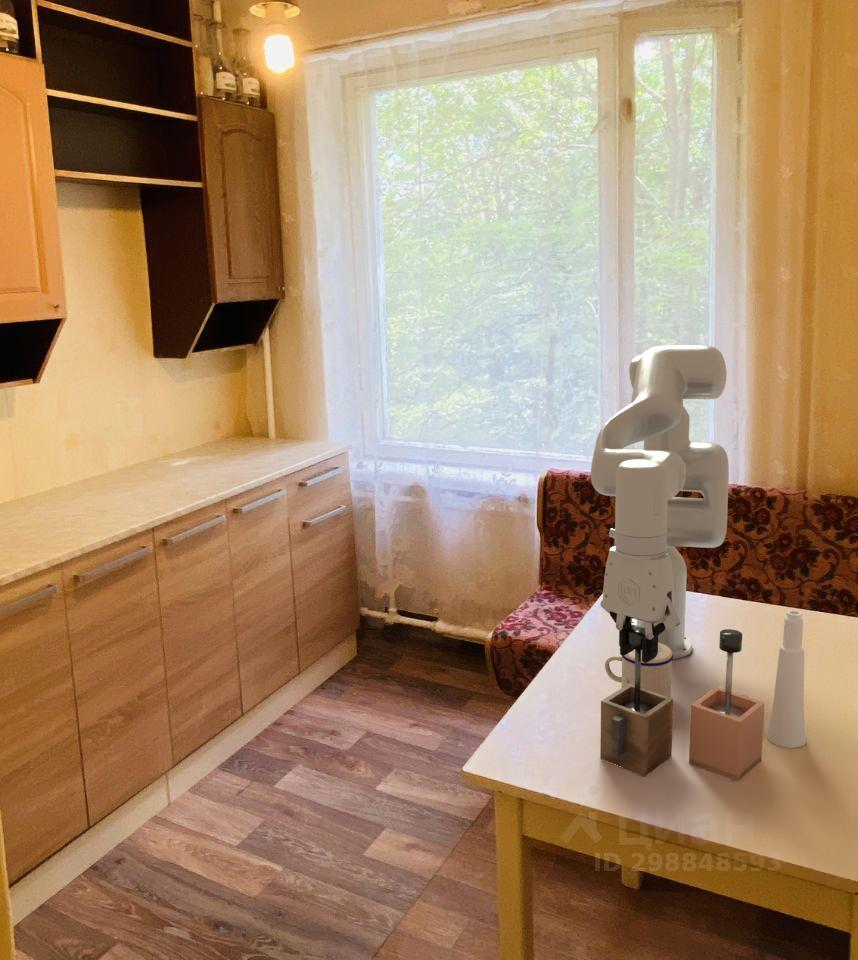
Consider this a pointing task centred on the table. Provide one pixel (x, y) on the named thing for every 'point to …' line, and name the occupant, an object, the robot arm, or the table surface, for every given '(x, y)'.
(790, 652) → the cosmetic bottle
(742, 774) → the square planter pot
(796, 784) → the table surface
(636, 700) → the dark metallic plunger
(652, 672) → the teacup with lid
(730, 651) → the black knobbed plunger
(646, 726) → the wooden handled box
